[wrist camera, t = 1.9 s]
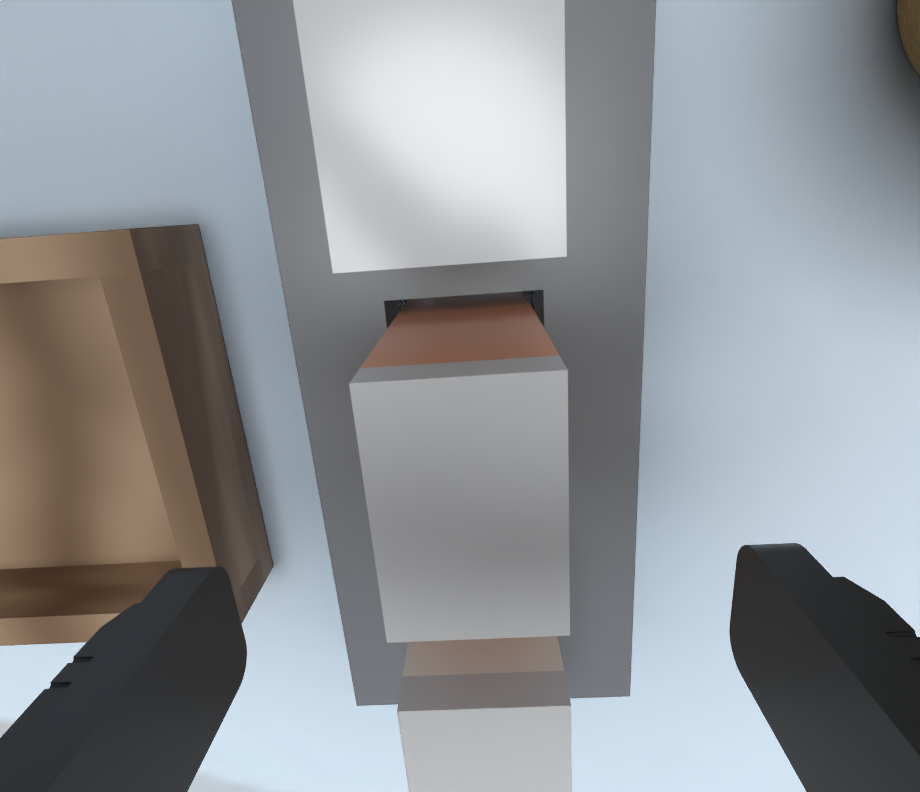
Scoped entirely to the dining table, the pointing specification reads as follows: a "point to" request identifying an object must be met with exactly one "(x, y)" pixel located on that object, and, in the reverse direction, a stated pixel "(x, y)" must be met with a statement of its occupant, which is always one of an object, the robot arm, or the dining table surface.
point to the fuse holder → (552, 279)
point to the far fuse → (486, 716)
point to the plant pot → (910, 30)
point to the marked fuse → (467, 470)
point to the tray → (116, 431)
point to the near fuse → (437, 129)
